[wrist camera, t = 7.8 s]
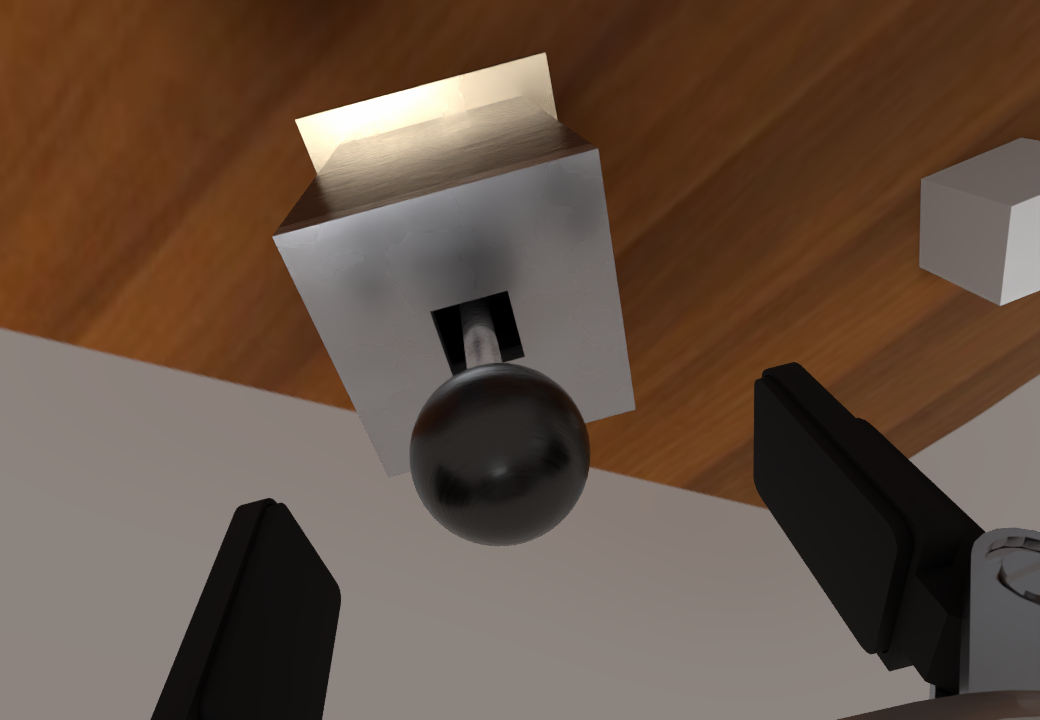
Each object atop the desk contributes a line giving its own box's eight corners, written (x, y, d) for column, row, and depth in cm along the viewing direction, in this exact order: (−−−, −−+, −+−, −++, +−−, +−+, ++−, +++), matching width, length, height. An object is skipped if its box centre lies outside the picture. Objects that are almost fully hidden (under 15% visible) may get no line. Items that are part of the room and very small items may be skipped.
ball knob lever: (514, 148, 23) (656, 335, 9) (544, 284, 27) (682, 576, 12) (367, 188, 23) (277, 438, 9) (415, 320, 27) (406, 653, 12)
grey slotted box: (543, 52, 26) (646, 72, 14) (587, 300, 33) (681, 457, 21) (297, 117, 26) (187, 196, 14) (393, 353, 33) (376, 542, 21)
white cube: (1009, 229, 35) (1107, 264, 30) (917, 266, 36) (999, 306, 31) (1020, 136, 32) (1132, 157, 27) (920, 178, 33) (1011, 206, 28)
